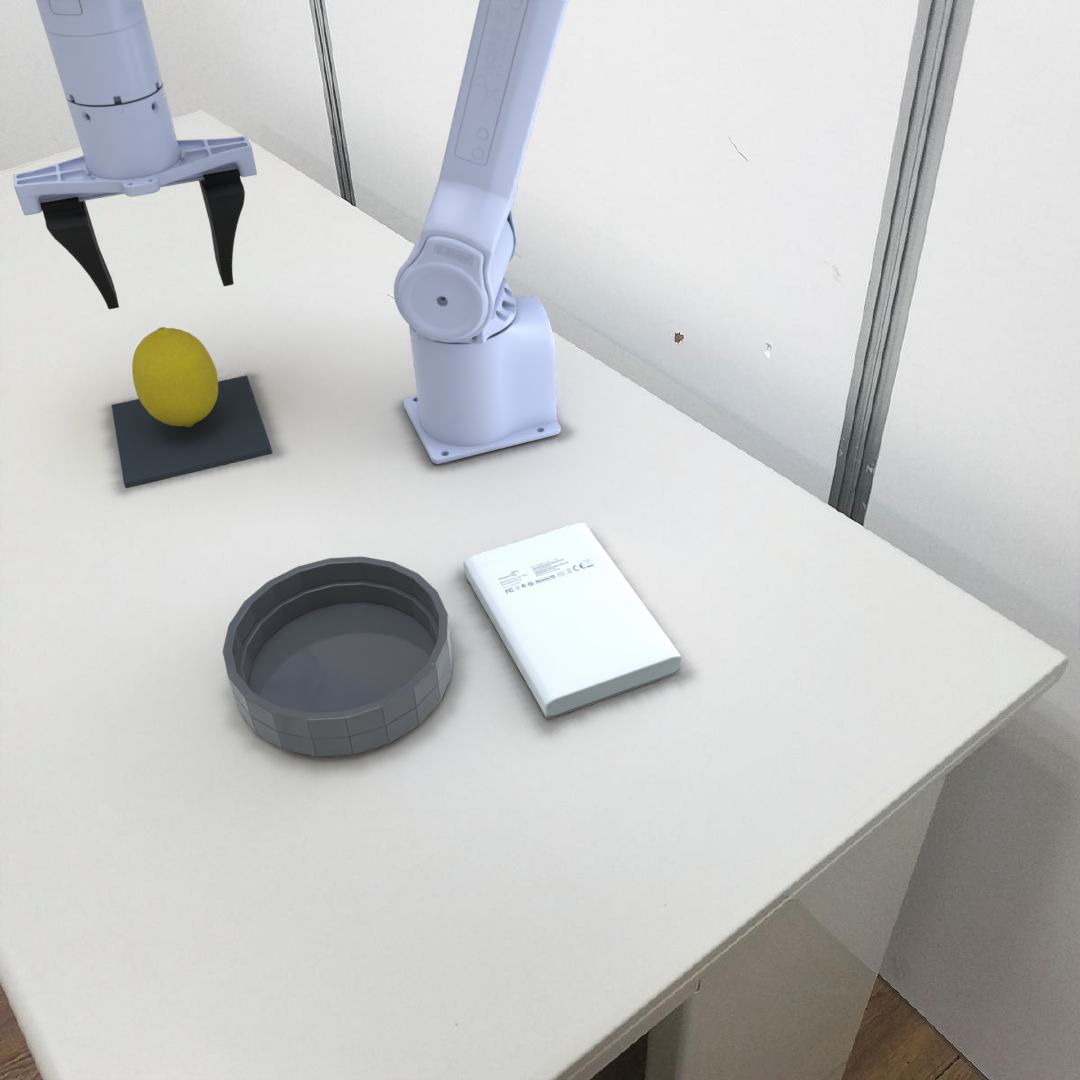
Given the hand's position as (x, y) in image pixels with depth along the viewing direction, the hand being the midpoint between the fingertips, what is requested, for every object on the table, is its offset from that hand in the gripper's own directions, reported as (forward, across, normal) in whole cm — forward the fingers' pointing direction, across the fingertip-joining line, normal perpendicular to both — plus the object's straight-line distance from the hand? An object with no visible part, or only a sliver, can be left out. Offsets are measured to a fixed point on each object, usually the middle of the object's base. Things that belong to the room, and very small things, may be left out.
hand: (170, 290), depth 76 cm
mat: (+9, -1, -3) cm, 10 cm away
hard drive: (+10, +17, -31) cm, 37 cm away
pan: (+9, +4, -30) cm, 32 cm away
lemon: (+9, -1, -3) cm, 10 cm away
